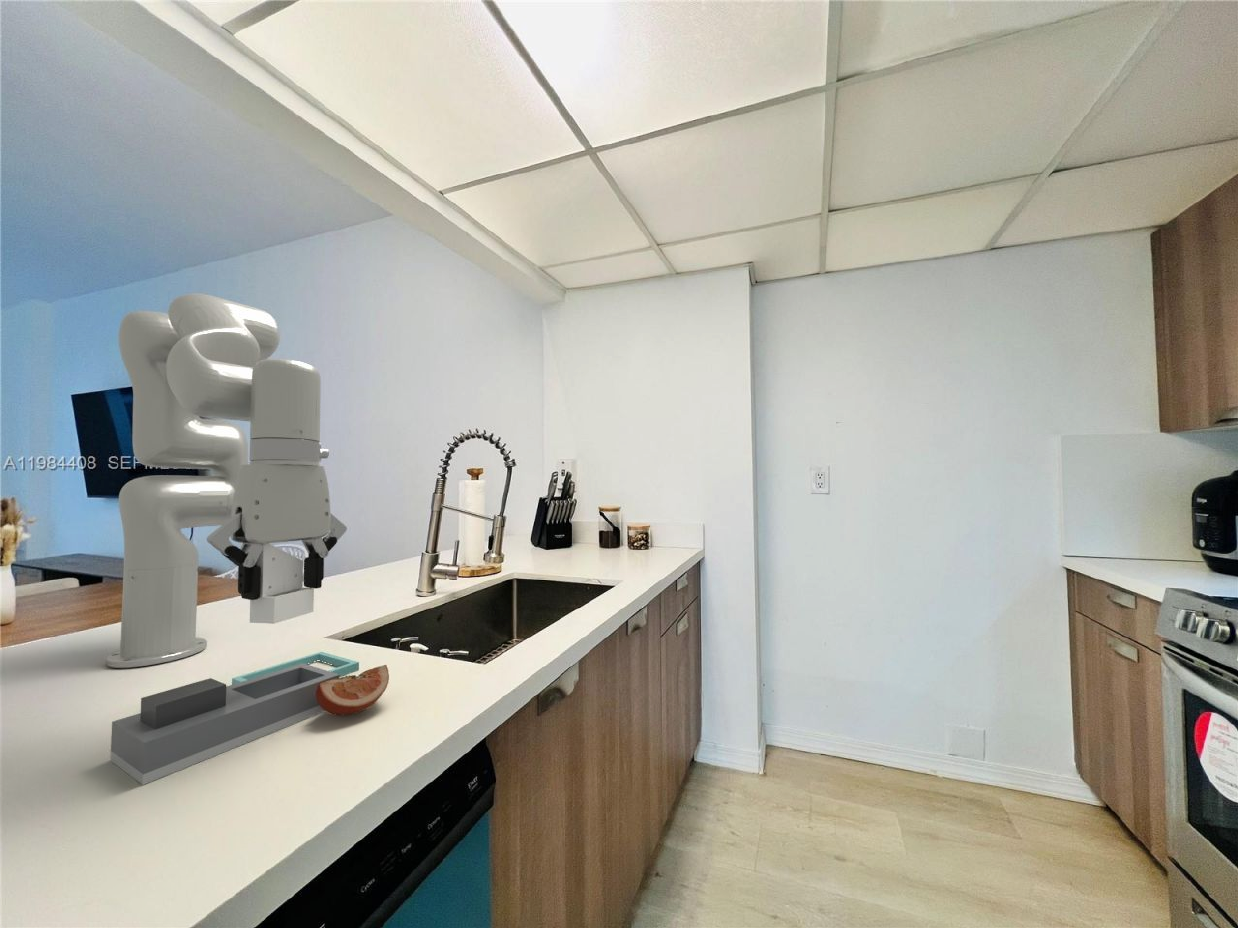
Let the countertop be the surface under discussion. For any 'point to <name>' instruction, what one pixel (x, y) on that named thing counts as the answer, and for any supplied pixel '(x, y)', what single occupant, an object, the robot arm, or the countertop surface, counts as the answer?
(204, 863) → the countertop surface
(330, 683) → the fruit slice
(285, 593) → the white angled block
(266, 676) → the grey slotted holder
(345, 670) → the tray frame
